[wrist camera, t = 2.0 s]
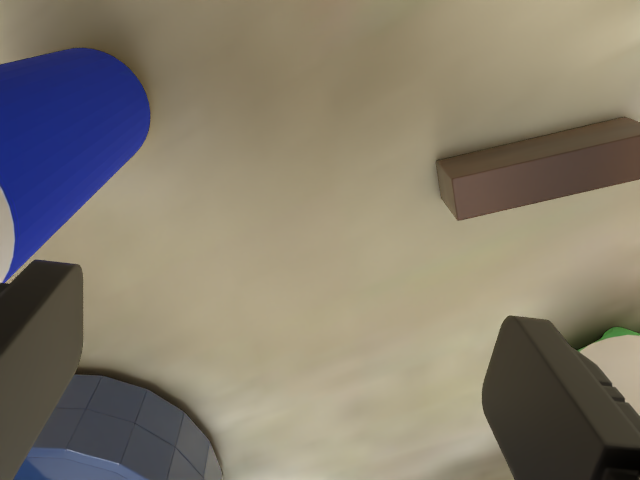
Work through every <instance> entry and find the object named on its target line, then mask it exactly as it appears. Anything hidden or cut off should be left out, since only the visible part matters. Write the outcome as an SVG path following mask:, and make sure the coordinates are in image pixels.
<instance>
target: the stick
mask: <svg viewBox="0 0 640 480" xmlns="http://www.w3.org/2000/svg"><path fill="white" fill-rule="evenodd" d="M436 167H437V173H438V180H439V186H440V193H441V199H442V200H443V201H444V203H445V204H446V205H447V207H448V208H449V210H450V211H451V212H452V214H453V215H454V216H455V218H456V219H457V220H464V219H468V218H472V217H477V216H481V215H485V214H490V213H494V212H499V211H503V210H507V209H512V208H516V207H521V206H525V205H529V204H534V203H538V202H542V201H547V200H551V199H556V198H560V197H564V196H569V195H573V194H577V193H582V192H586V191H591V190H595V189H599V188H604V187H608V186H613V185H617V184H621V183H626V182H630V181H634V180H639V179H640V122H638V121H635V120H632V119H629V118H627V117H622V118H618V119H613V120H609V121H605V122H600V123H596V124H592V125H588V126H583V127H579V128H575V129H570V130H566V131H562V132H558V133H553V134H549V135H545V136H541V137H536V138H532V139H528V140H523V141H519V142H515V143H511V144H506V145H502V146H498V147H493V148H489V149H485V150H481V151H476V152H472V153H468V154H464V155H459V156H455V157H451V158H446V159H442V160H438V161H436Z"/></svg>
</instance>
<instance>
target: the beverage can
mask: <svg viewBox="0 0 640 480" xmlns="http://www.w3.org/2000/svg"><path fill="white" fill-rule="evenodd" d="M149 125H150V107H149V102H148V99H147V95H146V93H145V91H144V88H143V86H142V84H141V83H140V81H139V80H138V78H137V77H136V76H135V74H134V73H133V72H132V71H131V70H130V69H129V68H128V67H127V66H126V65H125V64H123V63H122V62H121V61H119V60H118V59H116V58H115V57H113V56H111V55H109V54H107V53H105V52H102V51H99V50H95V49H89V48H72V49H67V50H62V51H58V52H53V53H49V54H45V55H40V56H36V57H31V58H27V59H23V60H18V61H14V62H10V63H5V64H1V65H0V283H5V282H6V281H7V280H8V279H9V278H10V277H11V276H12V275H13V274H14V273H15V272H16V271H17V270H18V269H19V268H20V267H21V266H22V265H23V264H24V263H25V262H26V261H27V260H28V259H29V258H30V257H31V256H32V255H33V254H34V253H35V252H36V251H37V250H38V249H39V248H40V247H41V246H42V245H43V244H44V243H45V242H46V241H47V240H48V239H49V238H50V237H51V236H52V235H53V234H54V233H55V232H56V231H57V230H58V229H59V228H60V227H61V226H62V225H63V224H64V223H65V222H66V221H68V220H69V219H70V218H71V217H72V216H73V215H74V214H75V213H76V212H77V211H78V210H79V209H80V208H81V207H82V206H83V205H84V204H85V203H86V202H87V201H88V200H89V199H90V198H91V197H92V196H93V195H94V194H95V193H96V192H97V191H98V190H99V189H100V188H101V187H102V186H103V185H104V184H105V183H106V182H107V181H108V180H109V179H110V178H111V177H112V176H113V175H114V174H115V173H116V172H117V171H118V170H119V169H120V168H121V167H122V166H123V165H124V164H125V163H126V162H127V161H128V160H129V159H130V158H131V157H132V156H133V155H134V154H135V153H136V152H137V151H138V150H139V148H140V147H141V146H142V144H143V142H144V141H145V139H146V136H147V133H148V131H149Z"/></svg>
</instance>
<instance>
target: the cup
mask: <svg viewBox="0 0 640 480" xmlns="http://www.w3.org/2000/svg"><path fill="white" fill-rule="evenodd" d="M577 351H579V352H580V353H581V354H583V355H584V356H586V357H587V358H588V359H590V360H591V361H592V362H594V363H595V364H597V365H598V367H599V368H600V369H601V370H602V371H603V373H604V374H605V375H606V376H607V377H608V379H609V380H610V381H611V382H612V387H616V388H617V389H618V391H619V392H620V393H621V394H622V395H623V397H624V398H625V402H627V403H629V404H630V405H631V406H632V407H633V409H634V410H635V411H636V412H637V413H638V415H639V416H640V333H637V332H634V331H631V330H628V329H625V328H622V327H612V328H611V329H609V330H608V331H606V332H605V333H604V335H603V336H602V338H601V339H599V340H597V341H596V342H594V343H592V344H590V345H588V346H586V347H584V348H581V349H579V350H577Z"/></svg>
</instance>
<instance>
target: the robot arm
mask: <svg viewBox="0 0 640 480" xmlns="http://www.w3.org/2000/svg"><path fill="white" fill-rule="evenodd" d="M82 347H83V273H82V269H81V267H80V265H78V264H70V263H61V262H53V261H44V260H34V261H32V262H31V263H30V264H29V265H28V266H27V267H26V268H25V269H24V270H23V271H22V272H21V273H20V274H19V275H18V276H17V277H16V278H15V279H14V280H13V281H12V282H11V283H10V284H6V283H0V480H13V479H14V477H15V476H16V474H17V472H18V470H19V469H20V467H21V465H22V464H23V462H24V460H25V458H26V457H27V455H28V453H29V451H30V450H31V448H32V446H33V445H34V443H35V441H36V439H37V438H38V436H39V434H40V433H41V431H42V429H43V427H44V426H45V424H46V422H47V421H48V419H49V417H50V415H51V414H52V412H53V410H54V409H55V407H56V405H57V403H58V402H59V400H60V398H61V396H62V395H63V393H64V391H65V390H66V388H67V386H68V384H69V383H70V381H71V379H72V378H73V376H74V374H75V372H76V370H77V367H78V365H79V361H80V357H81V353H82ZM482 405H483V410H484V414H485V416H486V418H487V421H488V423H489V425H490V427H491V429H492V431H493V434H494V436H495V438H496V440H497V442H498V444H499V447H500V449H501V451H502V453H503V455H504V457H505V459H506V462H507V464H508V466H509V468H510V470H511V472H512V475H513V477H514V479H515V480H640V416H639V415H638V413H637V412H636V411H635V410H634V409H633V407H632V406H631V405H630V404H629V403H627V402H625V398H624V397H623V395H622V394H621V393H620V392H619V391H618V389H617V388H616V387H612V382H611V381H610V380H609V379H608V377H607V376H606V375H605V374H604V373H603V371H602V370H601V369H600V368H599V367H598V365H597V364H595V363H594V362H592V361H591V360H590V359H588V358H587V357H586V356H584V355H583V354H581V353H580V352H579V351H577V350H576V349H575V348H572V347H571V346H570V345H569V344H568V342H567V341H566V340H565V339H564V337H563V336H562V335H561V334H560V332H559V331H558V330H557V329H556V327H555V326H554V325H553V324H552V323H551V322H550V321H549V320H544V319H536V318H527V317H518V316H508V317H507V318H506V319H505V320H504V321H503V323H502V325H501V328H500V331H499V334H498V338H497V341H496V344H495V347H494V350H493V353H492V357H491V360H490V363H489V366H488V369H487V373H486V376H485V379H484V383H483V388H482Z"/></svg>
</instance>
